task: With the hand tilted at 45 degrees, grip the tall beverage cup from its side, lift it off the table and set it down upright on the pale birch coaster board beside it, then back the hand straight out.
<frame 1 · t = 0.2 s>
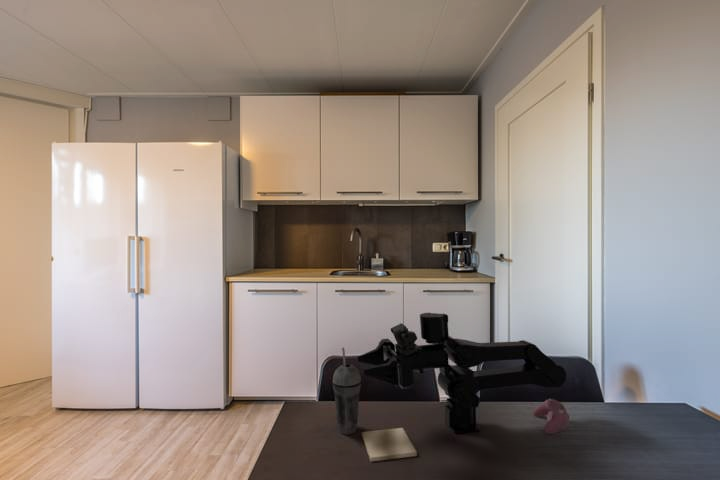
hand: (360, 365, 80), 17 cm above the table, tool horizontal, fingers open, 9 cm apart
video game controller: (551, 426, 83), on the table
beverage cup: (347, 430, 82), on the table
coaster board: (387, 445, 75), on the table
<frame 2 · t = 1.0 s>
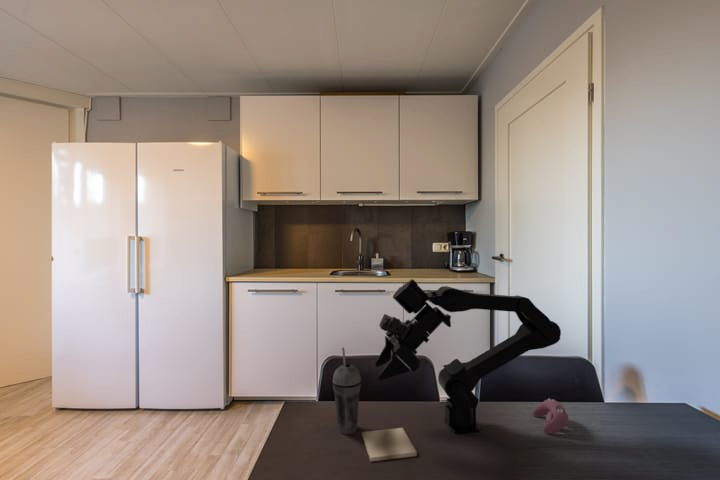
hand: (377, 372, 83), 14 cm above the table, tool tilted 45°, fingers open, 9 cm apart
nothing on the table moved.
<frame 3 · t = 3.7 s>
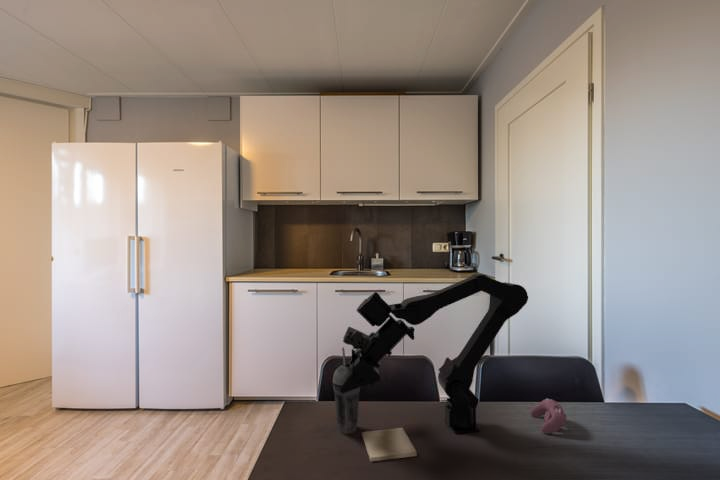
hand: (341, 385, 83), 11 cm above the table, tool tilted 45°, fingers closed on beverage cup, 7 cm apart
beverage cup: (347, 430, 82), on the table, touching gripper
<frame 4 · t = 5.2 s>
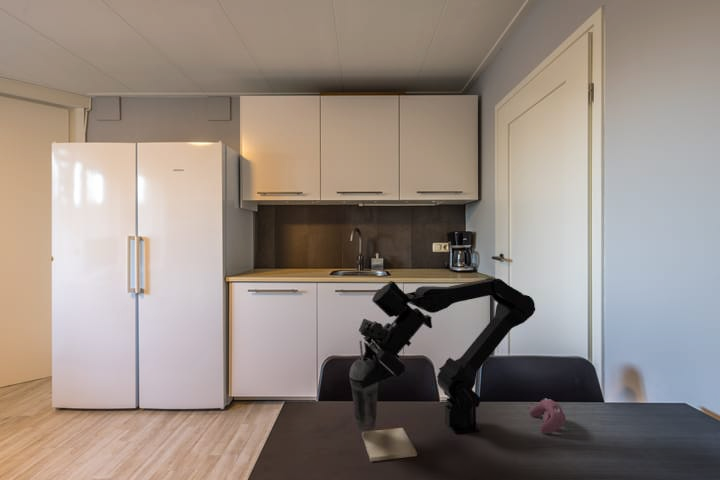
hand: (358, 380, 79), 13 cm above the table, tool tilted 45°, fingers closed on beverage cup, 7 cm apart
beverage cup: (365, 426, 79), point 2 cm above the table, touching gripper
everything else where it was.
when the fingers open (12 cm above the table, at t = 6.9 s): beverage cup stays where it is, resting on coaster board.
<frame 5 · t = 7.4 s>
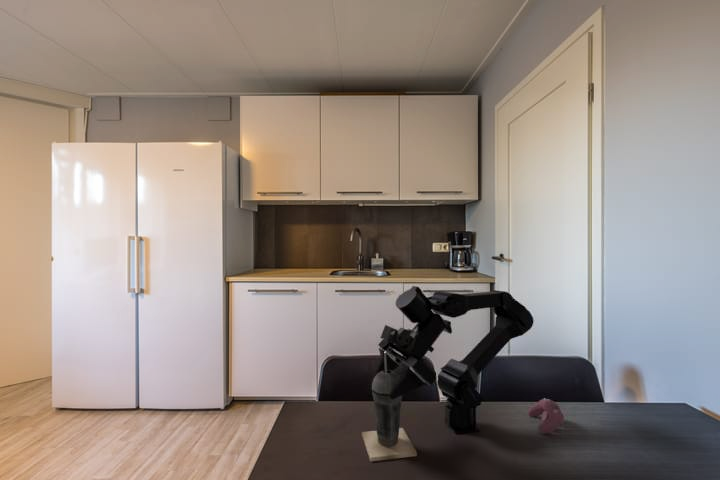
hand: (381, 389, 75), 12 cm above the table, tool tilted 45°, fingers open, 9 cm apart
beverage cup: (387, 441, 76), point 1 cm above the table, touching coaster board
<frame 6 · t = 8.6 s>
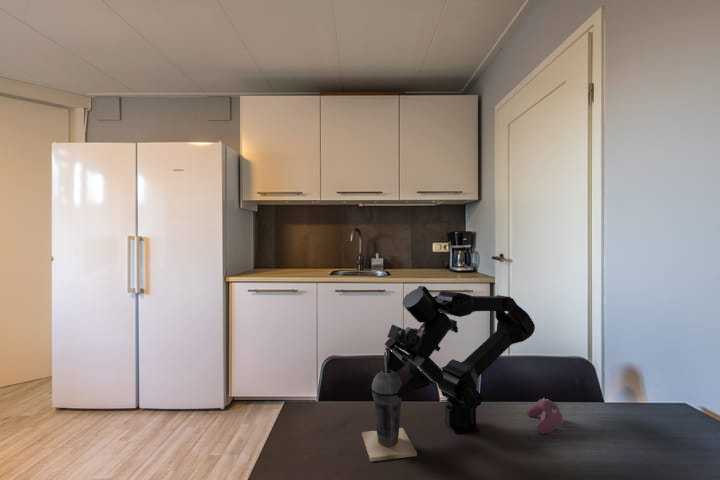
hand: (388, 388, 76), 12 cm above the table, tool tilted 45°, fingers open, 9 cm apart
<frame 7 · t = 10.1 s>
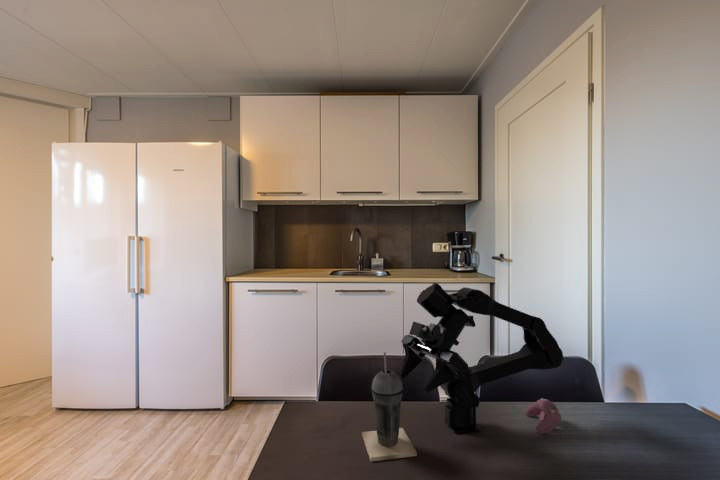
hand: (412, 384, 78), 13 cm above the table, tool tilted 45°, fingers open, 9 cm apart
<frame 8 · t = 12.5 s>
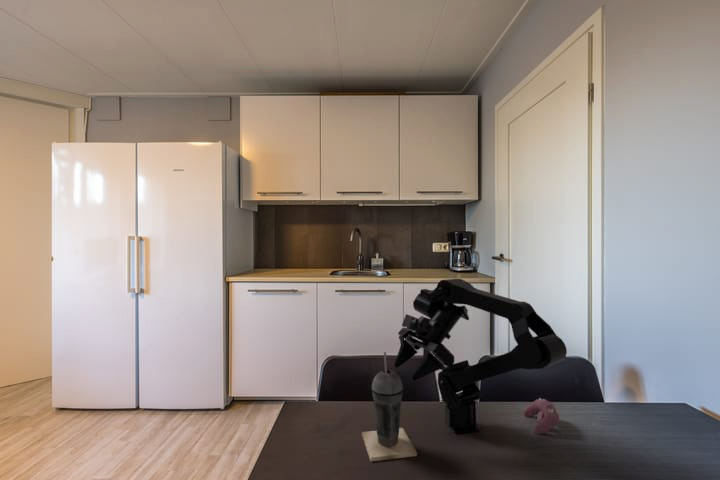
hand: (403, 372, 83), 14 cm above the table, tool tilted 45°, fingers open, 9 cm apart
at the end: beverage cup 0.2 cm off-centre on the coaster board, point 0.6 cm above the coaster board's base; beverage cup tilted 0°; the gripper is holding nothing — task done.
